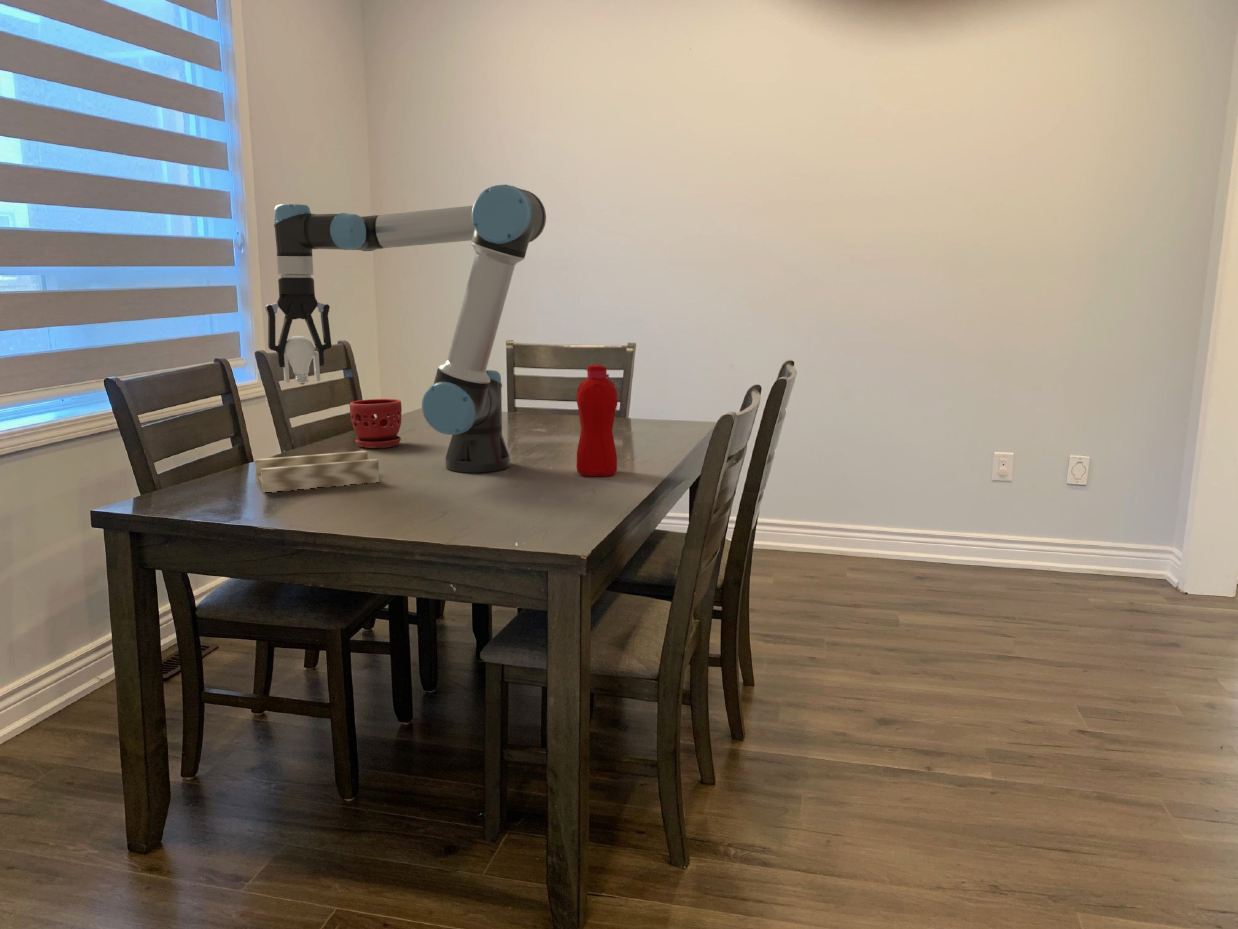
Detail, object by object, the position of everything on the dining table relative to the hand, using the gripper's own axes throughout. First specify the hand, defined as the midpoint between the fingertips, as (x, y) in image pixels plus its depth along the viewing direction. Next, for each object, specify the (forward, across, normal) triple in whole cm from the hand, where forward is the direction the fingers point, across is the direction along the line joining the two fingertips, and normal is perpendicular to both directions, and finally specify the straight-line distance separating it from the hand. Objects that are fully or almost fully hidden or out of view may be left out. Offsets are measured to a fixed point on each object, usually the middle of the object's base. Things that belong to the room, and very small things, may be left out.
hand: (302, 380), depth 215 cm
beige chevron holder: (+21, 0, +13) cm, 24 cm away
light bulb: (+1, 0, 0) cm, 1 cm away
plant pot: (+21, -22, -25) cm, 39 cm away
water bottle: (+21, -60, +31) cm, 71 cm away
